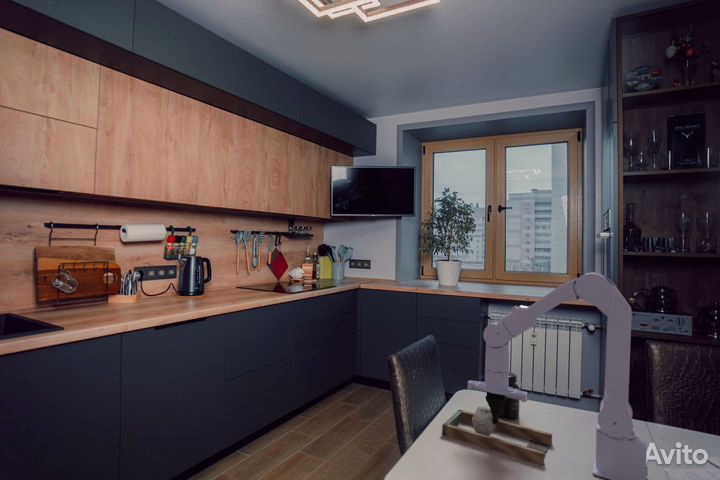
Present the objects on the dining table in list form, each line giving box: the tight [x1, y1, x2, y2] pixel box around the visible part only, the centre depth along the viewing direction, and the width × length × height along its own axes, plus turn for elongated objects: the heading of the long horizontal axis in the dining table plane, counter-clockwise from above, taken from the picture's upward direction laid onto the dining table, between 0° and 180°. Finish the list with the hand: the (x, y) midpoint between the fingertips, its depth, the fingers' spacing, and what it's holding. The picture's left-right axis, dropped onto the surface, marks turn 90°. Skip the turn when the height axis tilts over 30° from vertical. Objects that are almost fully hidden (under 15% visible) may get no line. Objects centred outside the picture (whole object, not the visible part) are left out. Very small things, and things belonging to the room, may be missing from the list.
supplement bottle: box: [499, 372, 521, 421], centre depth 117 cm, size 7×7×12 cm
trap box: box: [441, 409, 553, 466], centre depth 102 cm, size 24×12×2 cm, turn 56°
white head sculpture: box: [472, 406, 496, 436], centre depth 103 cm, size 6×7×7 cm
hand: (495, 423), depth 102 cm, fingers closed, pressing on white head sculpture
